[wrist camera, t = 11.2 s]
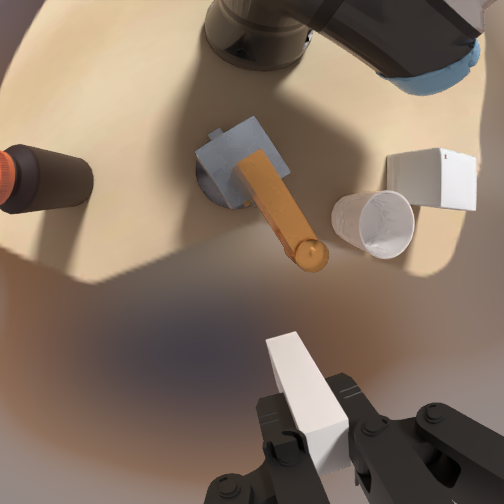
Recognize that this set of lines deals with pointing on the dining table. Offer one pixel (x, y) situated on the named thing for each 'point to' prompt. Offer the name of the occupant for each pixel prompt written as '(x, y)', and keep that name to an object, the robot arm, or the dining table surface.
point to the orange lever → (261, 187)
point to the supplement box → (434, 178)
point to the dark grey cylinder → (213, 188)
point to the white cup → (374, 222)
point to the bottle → (41, 180)
